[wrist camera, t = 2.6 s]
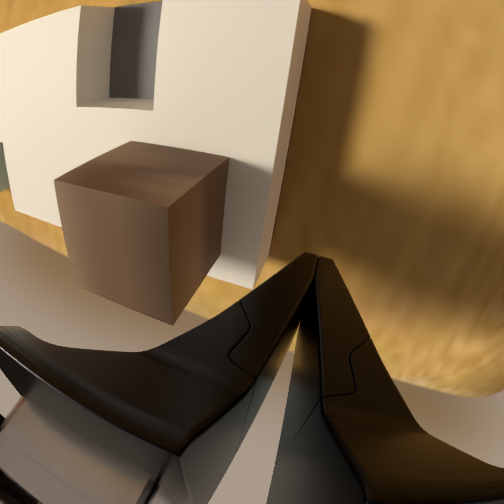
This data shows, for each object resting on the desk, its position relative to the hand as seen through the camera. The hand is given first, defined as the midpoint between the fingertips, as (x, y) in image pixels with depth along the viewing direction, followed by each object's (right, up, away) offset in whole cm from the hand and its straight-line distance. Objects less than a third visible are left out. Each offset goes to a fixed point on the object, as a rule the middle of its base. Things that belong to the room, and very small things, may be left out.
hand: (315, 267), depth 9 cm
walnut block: (-5, +2, +3) cm, 6 cm away
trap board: (-12, +8, +5) cm, 15 cm away
